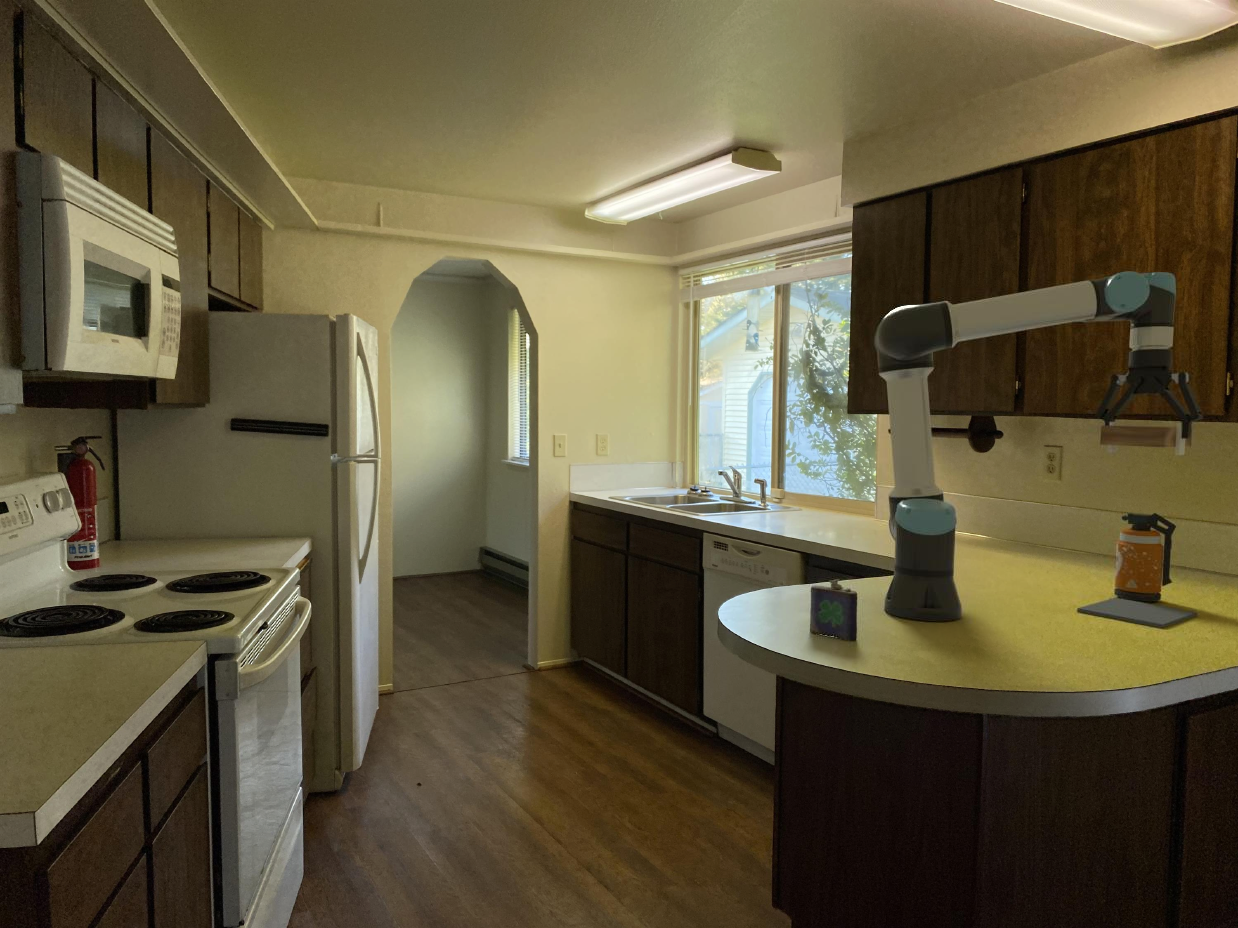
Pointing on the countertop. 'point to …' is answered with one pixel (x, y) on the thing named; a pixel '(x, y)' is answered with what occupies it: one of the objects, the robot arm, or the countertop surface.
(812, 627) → the flask
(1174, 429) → the wooden block
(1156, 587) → the canister
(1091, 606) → the mat
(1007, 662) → the countertop surface
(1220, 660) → the countertop surface
